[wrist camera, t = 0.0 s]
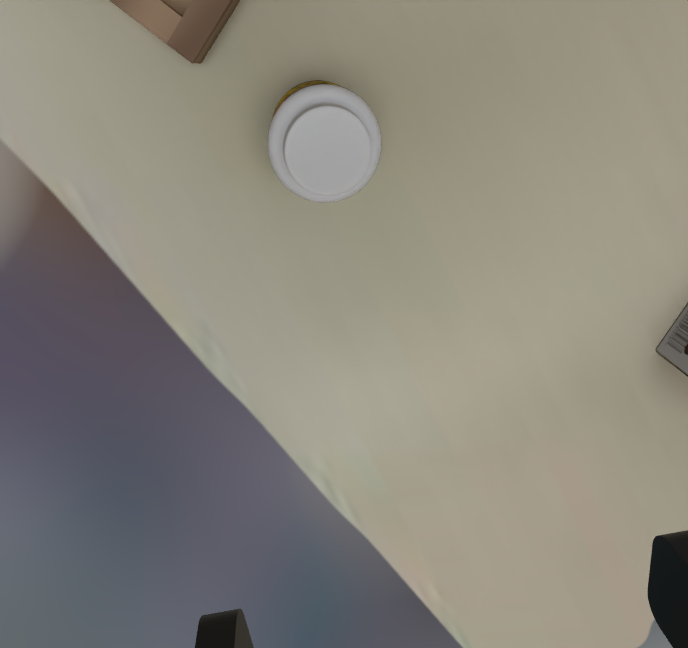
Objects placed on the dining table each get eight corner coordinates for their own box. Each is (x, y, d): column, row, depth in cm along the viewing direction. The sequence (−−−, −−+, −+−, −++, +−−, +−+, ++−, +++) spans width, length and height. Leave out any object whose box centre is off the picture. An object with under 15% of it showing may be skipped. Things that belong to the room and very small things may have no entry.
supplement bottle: (324, 59, 34) (340, 56, 25) (380, 138, 36) (414, 162, 27) (251, 121, 35) (239, 141, 26) (309, 194, 37) (318, 238, 28)
